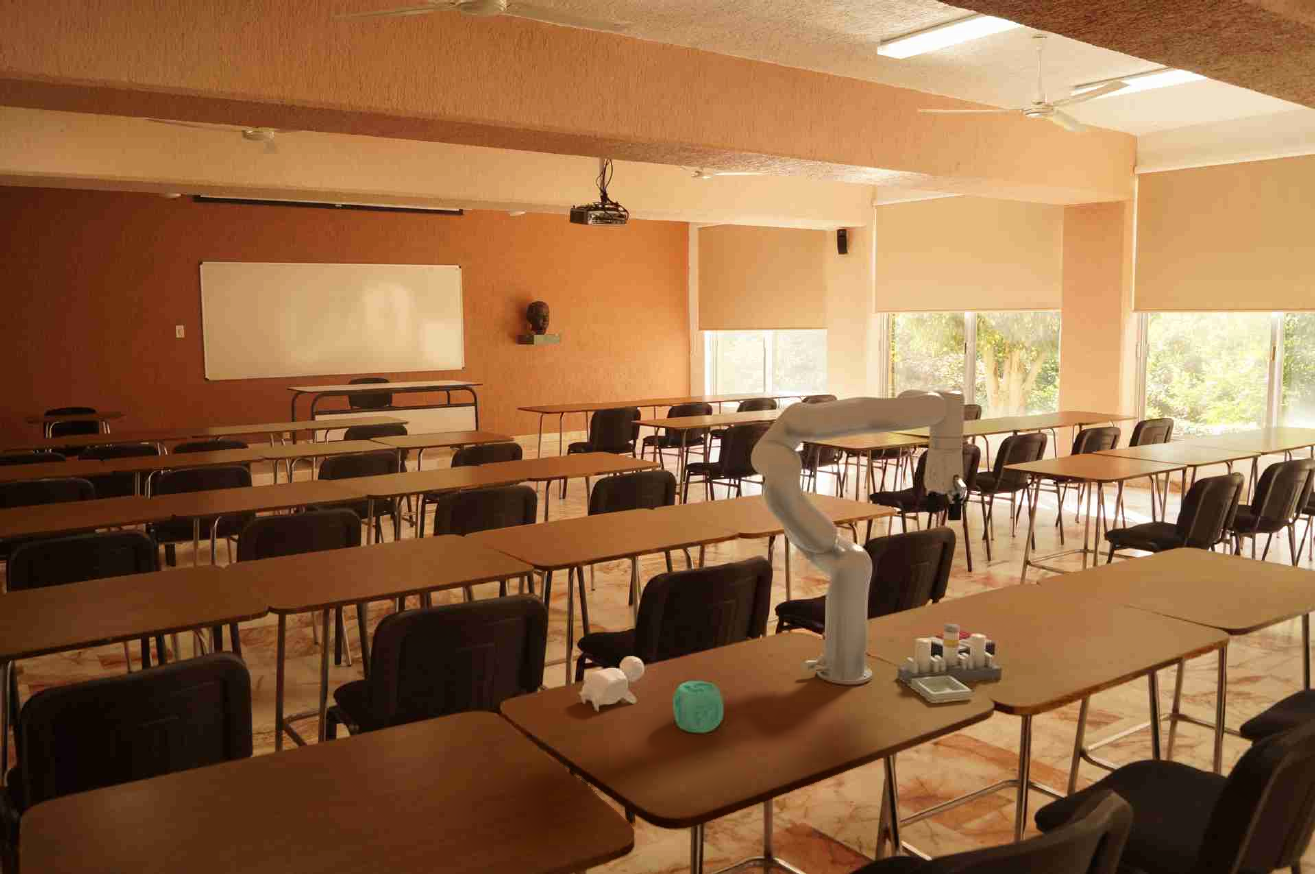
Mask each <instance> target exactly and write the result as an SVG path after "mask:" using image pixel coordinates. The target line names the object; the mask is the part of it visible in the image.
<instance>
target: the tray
mask: <svg viewBox="0 0 1315 874" xmlns="http://www.w3.org/2000/svg"><path fill="white" fill-rule="evenodd" d="M911 687H913V688H915V690H917V691H918V692H919V693H921V694H922V695H924V697H926V698H927V699H929V700H930V701H931V702H936V701H944V700H951V699H966V698H971V699H972V692H973V691H972V690H971V689H970V688H969V687H967V686H966V685H964V684H962V682H958V681H957V680H955V679H954V678H952V677H951V676H949V675H946V676H935V677H924V678H913V679H911ZM911 687H910V688H911ZM936 688H937V689H936ZM938 688H939V689H938ZM924 697H923V698H924Z"/></svg>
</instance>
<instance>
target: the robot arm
mask: <svg viewBox="0 0 1315 874" xmlns="http://www.w3.org/2000/svg"><path fill="white" fill-rule="evenodd" d="M964 420H965V395H964V393H963V392H962V391H960V390H953V389H952V390H951V389H944V390H943V389H942V390H934V391H929V390H921V389H906V390H904V391H901V392H900V393H899V394H898V395H897V396H896V397H873V396H856V397H848V398H845V399H838V400H831V401H823V402H818V403H808V402H804V401H797V402H794V403H792V404H790V405H788V406H787V407H786V408H785V409H784V410H783V411H782V412H781V413H780V415H779V416H778V417H777V418H776V419H775V420H774V422H773V423H772V424H771V426H769V428H768V429H767V430H766V432H765V433H764V434H763V435H762V437H760V438H759V440H758V441H757V443H756V444H755V445H754V447H753V448H752V451H751V455H750V461H751V466H752V468H753V469H754V471H755V472H757V474H758V475H761V476H763V477H764V483H763V484H764V485H763V493H764V494H763V495H764V496H763V497H764V500H765V504H766V506H767V508H768V509H769V511H770V513H771V514H772V515H773V516H774V517H775V518H776V519H777V520H778V521H779V522H780V523H781V524H782V528H783V533H784V534H785V536H786V538H787V539H788V540H789V542H791V544H792V545H793V546H795V548H796V549H798V550H799V551H800V553H801V554H802V555H804V557H806V559H808V560H809V561H810V562H811V563H812V564H813V565H814V566H815V567H816V568H818V569H819V570H820V571H821V572H823V574H826V575H827V576H829V582H828V587H827V590H826V595H825V606H824V607H825V609H824V610H825V615H824V616H825V620H824V621H825V622H824V623H825V624H824V625H825V626H824V653H822V654H821V653H820V657H819V658H817V659H816V660H813V659H812V660H811V659H809V660H808V659H807V660H804V662H803V663H804V669H805V670H809V669H810V670H812V669H813V670H814V672H816V673H817V675H818V676H819V678H821V679H822V680H824V681H827V682H829V683H833V684H837V685H838V684H839V685H848V686H849V685H851V686H852V685H862V684H865V682H866V683H867V682H870V681H871V680H872V679H873V671H872V669H871V668H870V667H868V666H867V640H868V639H867V638H868V637H867V636H868V603H869V601H868V600H869V590H870V583H871V580H872V579H871V578H872V573H873V562H872V558H871V556H870V554H869V553H868V552H867V550H866V549H865V548H863V546H861V545H859V544H857V543H855V542H853V540H852V541H851V540H850V539H848V538H846V537H843V536H842V535H841V534H840V533H839V532H838V529H837V526H836V524H835V523H834V522H835V521H833V519H832V518H831V517H830V516H829V515H828V514H826V513H825V512H824V511H823V510H822V509H821V508H820V507H819V506H818V505H817V504H816V503H815V502H813V501H812V500H811V498H809V496H808V495H807V494H806V493H805V491H804V490H803V488H802V486H801V476H802V475H801V474H802V469H803V462H802V458H801V455H800V453H799V452H797V448H799V446H800V445H801V443H802V442H803V441H804V442H808V443H815V442H816V443H817V442H823V441H829V440H830V441H831V440H835V439H841V438H847V437H853V436H859V435H868V434H870V435H872V434H874V435H875V434H882V433H889V432H891V433H892V432H901V431H902V432H903V431H911V430H917V429H923V428H928V427H929V437H928V438H929V440H928V450H927V453H926V454H927V455H926V460H925V469H924V475H923V484H924V488H925V495H926V501H925V503H926V505H925V511H926V513H928V514H930V513H939V512H940V501H941V500H940V499H941V495H945V494H946V496H947V498H948V501H949V502H948V503H947V520H948V521H950V522H951V521H952V522H953V521H961V520H962V510H963V509H962V507H963V504H964V499H965V497H966V492H967V489H968V487H967V485H966V484H965V483H964V461H963V451H964V447H963V445H964V444H963V443H964V427H965V424H964V423H965V421H964ZM939 494H940V495H939Z"/></svg>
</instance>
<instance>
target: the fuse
mask: <svg viewBox="0 0 1315 874" xmlns="http://www.w3.org/2000/svg"><path fill="white" fill-rule="evenodd" d="M959 631H960V625H959V624H957V623H948V622H947V623H945V624H943V633H942V634H943V659H945V660H946V670H949V667H956V666H958V646H959Z"/></svg>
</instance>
